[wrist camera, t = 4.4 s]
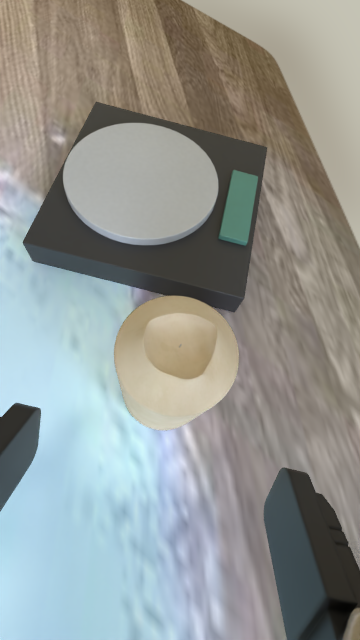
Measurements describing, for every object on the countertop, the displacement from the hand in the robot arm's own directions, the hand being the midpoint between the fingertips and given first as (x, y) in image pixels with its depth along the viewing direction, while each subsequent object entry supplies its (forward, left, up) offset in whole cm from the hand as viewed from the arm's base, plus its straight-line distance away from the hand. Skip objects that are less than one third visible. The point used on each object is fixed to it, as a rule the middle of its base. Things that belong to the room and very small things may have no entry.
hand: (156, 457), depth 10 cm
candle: (0, -4, -11) cm, 12 cm away
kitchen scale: (+4, -19, -10) cm, 22 cm away
